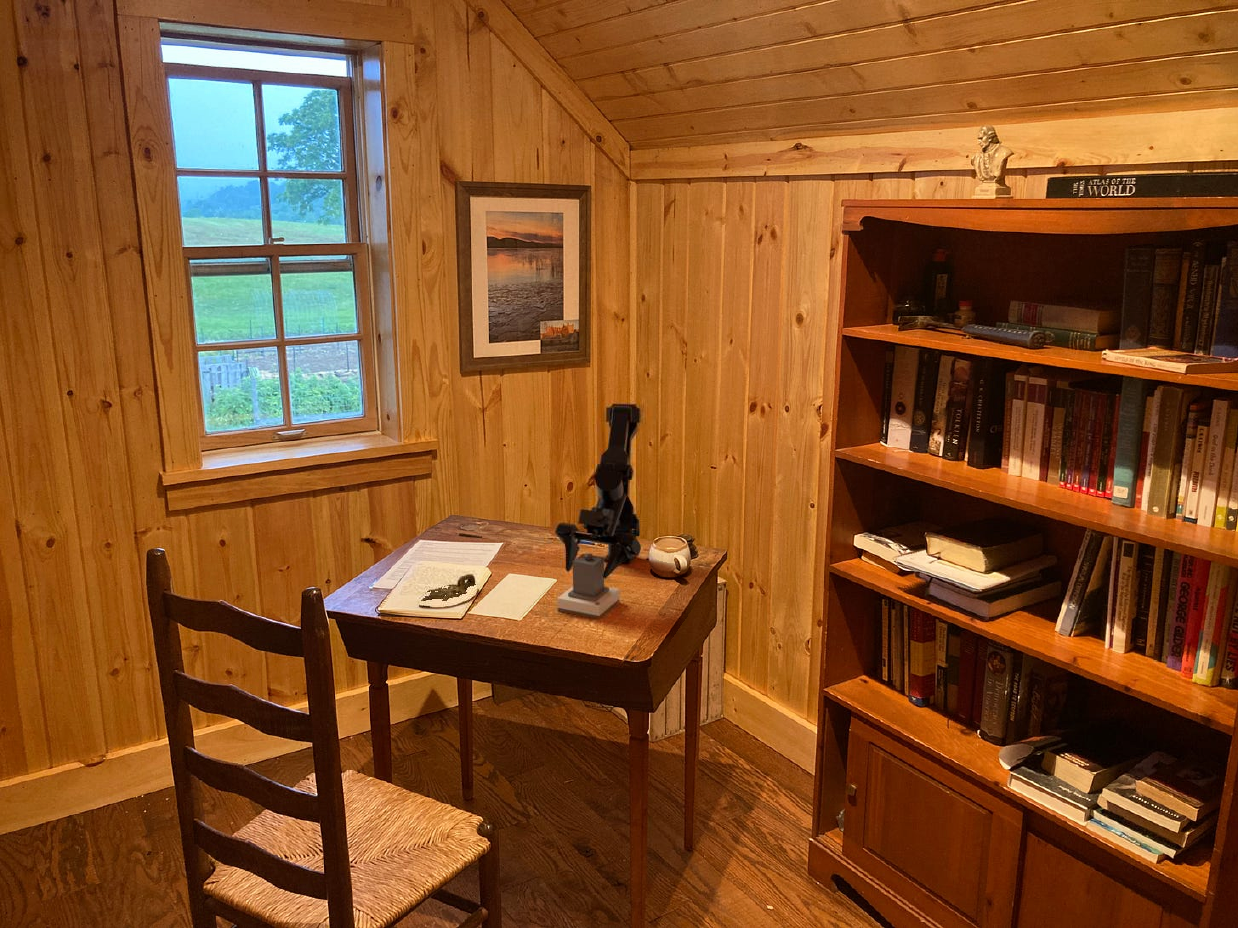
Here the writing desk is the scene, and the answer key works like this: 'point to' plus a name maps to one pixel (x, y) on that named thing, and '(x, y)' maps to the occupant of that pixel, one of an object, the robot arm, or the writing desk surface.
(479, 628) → the writing desk surface
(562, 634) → the writing desk surface
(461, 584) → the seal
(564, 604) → the socket
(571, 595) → the grey block with knob
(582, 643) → the writing desk surface
